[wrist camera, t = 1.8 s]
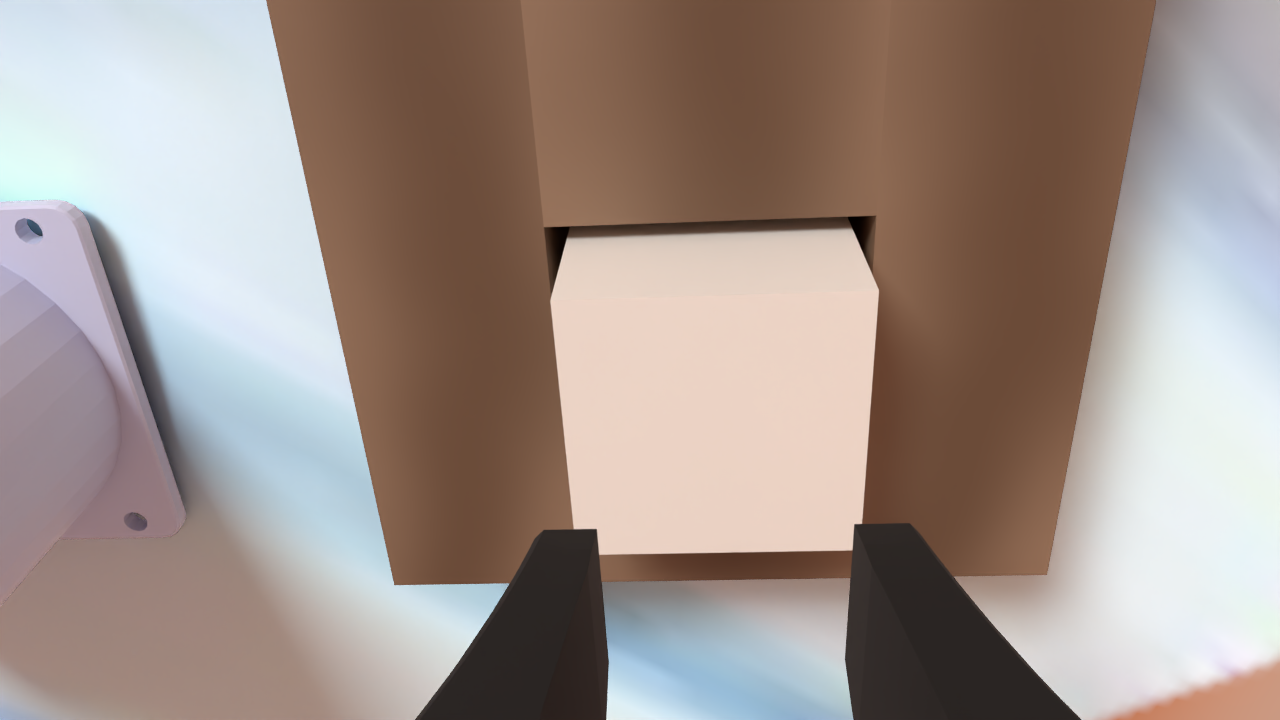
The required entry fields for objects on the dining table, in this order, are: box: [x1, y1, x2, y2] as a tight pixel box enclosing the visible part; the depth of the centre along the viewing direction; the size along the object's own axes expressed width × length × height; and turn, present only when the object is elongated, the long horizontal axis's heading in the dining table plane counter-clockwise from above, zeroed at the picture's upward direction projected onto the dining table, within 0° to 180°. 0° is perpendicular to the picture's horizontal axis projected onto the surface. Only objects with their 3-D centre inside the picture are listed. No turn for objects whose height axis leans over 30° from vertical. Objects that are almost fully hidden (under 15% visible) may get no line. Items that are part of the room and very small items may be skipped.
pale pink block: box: [550, 217, 879, 555], centre depth 16 cm, size 4×4×3 cm
